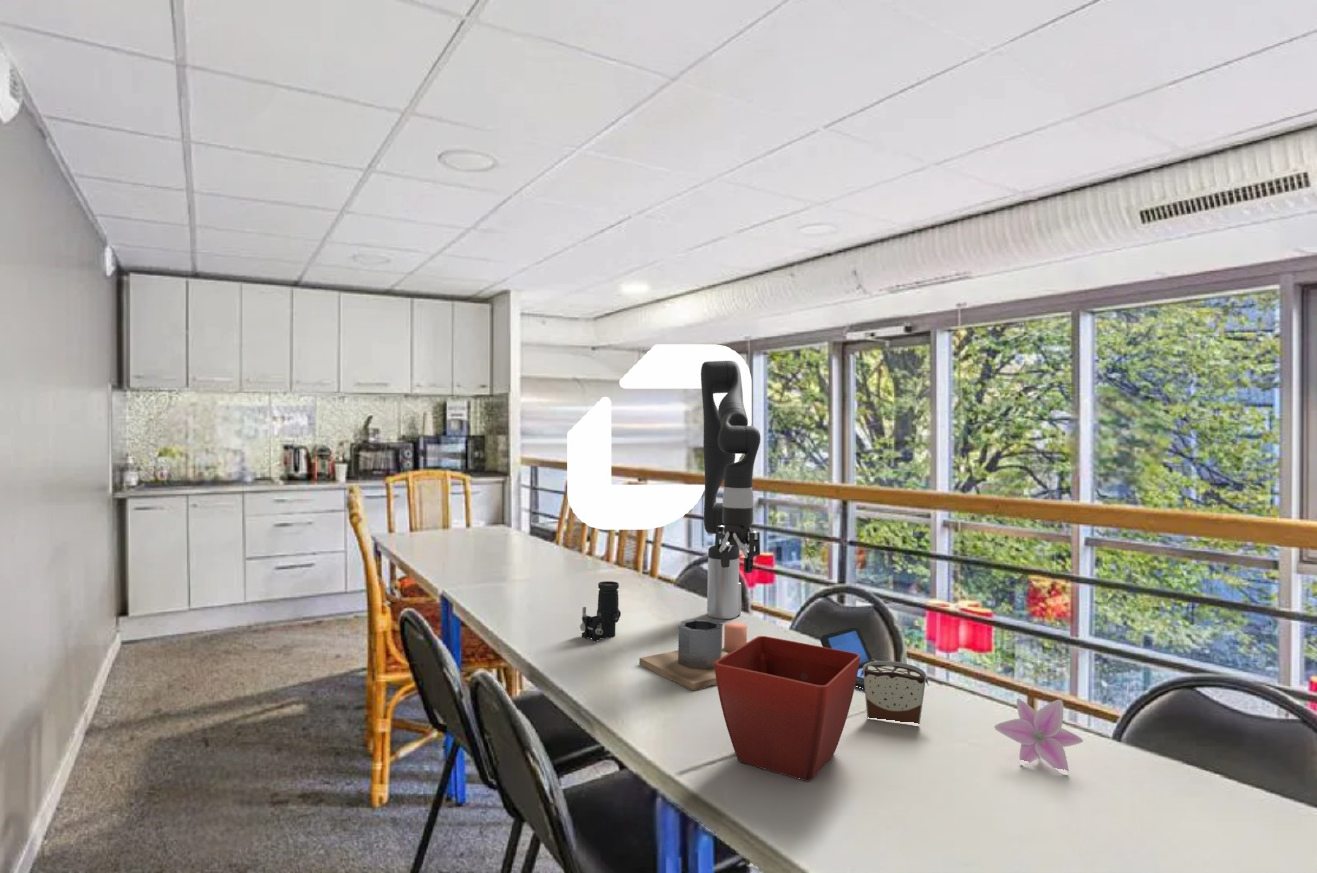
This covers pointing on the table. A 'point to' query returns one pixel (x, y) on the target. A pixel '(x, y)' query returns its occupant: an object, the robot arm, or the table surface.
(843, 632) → the handheld game console
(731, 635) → the salmon pink rounded cylinder
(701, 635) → the grey octagonal cup
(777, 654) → the plant pot
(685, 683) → the walnut board
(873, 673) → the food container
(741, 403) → the robot arm
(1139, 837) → the table surface
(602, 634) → the scope
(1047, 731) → the lily
